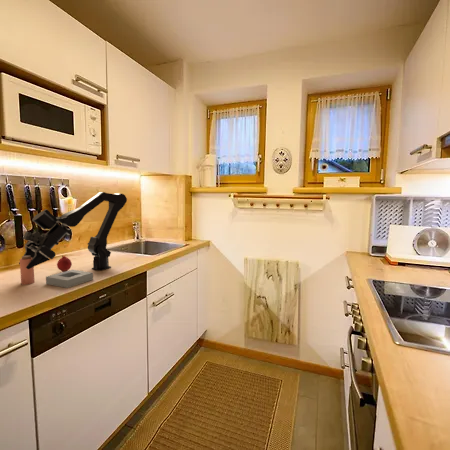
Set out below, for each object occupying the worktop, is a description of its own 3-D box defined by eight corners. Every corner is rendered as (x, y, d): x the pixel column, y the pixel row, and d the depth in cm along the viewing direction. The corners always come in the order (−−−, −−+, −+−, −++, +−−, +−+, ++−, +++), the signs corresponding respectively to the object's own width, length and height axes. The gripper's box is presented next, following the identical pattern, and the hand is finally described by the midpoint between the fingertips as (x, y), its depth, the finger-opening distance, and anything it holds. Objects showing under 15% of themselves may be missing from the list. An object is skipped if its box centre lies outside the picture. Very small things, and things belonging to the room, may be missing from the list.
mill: (30, 280, 112) (28, 254, 111) (37, 282, 111) (35, 255, 110) (18, 283, 108) (16, 256, 107) (25, 285, 107) (24, 257, 106)
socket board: (72, 276, 119) (72, 269, 119) (93, 279, 115) (92, 272, 115) (46, 283, 108) (45, 276, 108) (67, 287, 104) (66, 280, 104)
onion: (69, 269, 130) (68, 253, 129) (74, 272, 126) (73, 255, 125) (55, 272, 125) (54, 255, 124) (60, 274, 122) (59, 257, 121)
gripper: (29, 222, 116) (-2, 251, 109) (45, 225, 105) (11, 258, 97) (50, 238, 123) (23, 266, 116) (67, 243, 112) (37, 275, 104)
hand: (23, 266), depth 108 cm, fingers open, 9 cm apart
